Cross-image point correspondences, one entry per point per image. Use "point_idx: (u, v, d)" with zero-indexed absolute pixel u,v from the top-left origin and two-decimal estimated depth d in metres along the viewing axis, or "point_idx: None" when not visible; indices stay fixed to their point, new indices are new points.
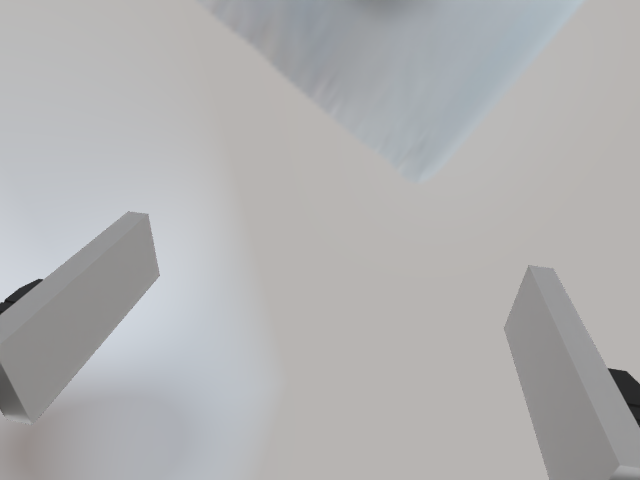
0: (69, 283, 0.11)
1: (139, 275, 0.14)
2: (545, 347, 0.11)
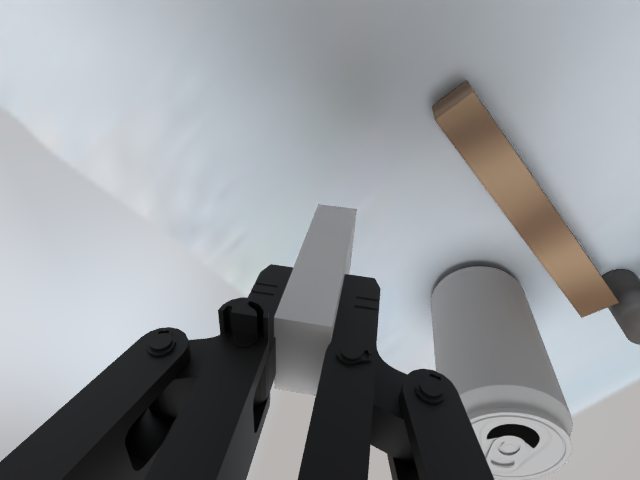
0: (319, 267, 0.12)
1: None
2: None
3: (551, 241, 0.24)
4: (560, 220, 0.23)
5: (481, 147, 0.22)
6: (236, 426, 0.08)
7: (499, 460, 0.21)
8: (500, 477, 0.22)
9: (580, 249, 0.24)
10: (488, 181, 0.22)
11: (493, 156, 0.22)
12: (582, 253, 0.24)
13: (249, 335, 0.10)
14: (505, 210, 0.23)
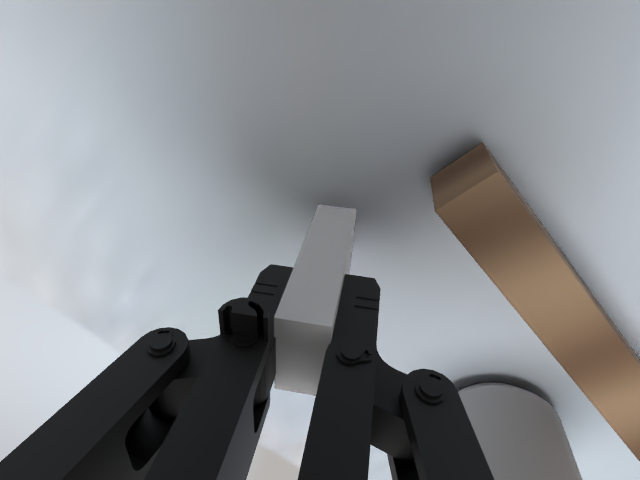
0: (319, 267, 0.12)
1: None
2: None
3: (611, 379, 0.16)
4: (628, 354, 0.15)
5: (508, 251, 0.14)
6: (236, 426, 0.08)
7: None
8: None
9: None
10: (517, 298, 0.15)
11: (526, 264, 0.14)
12: None
13: (249, 335, 0.10)
14: (543, 337, 0.15)
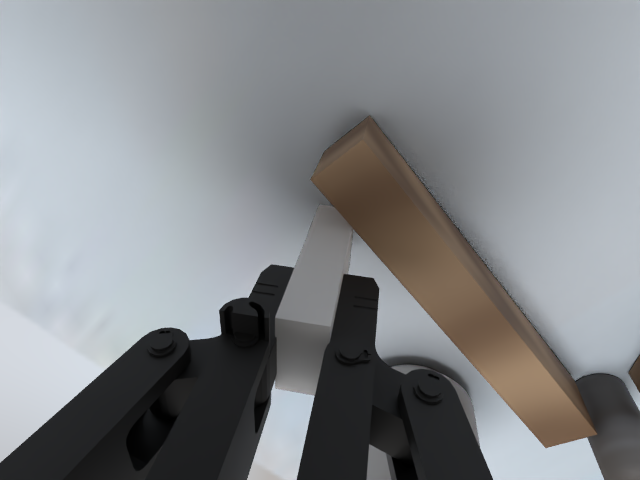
0: (320, 267, 0.12)
1: None
2: None
3: (498, 352, 0.16)
4: (509, 326, 0.15)
5: (384, 221, 0.14)
6: (237, 426, 0.08)
7: None
8: None
9: (540, 365, 0.16)
10: (399, 269, 0.15)
11: (403, 235, 0.14)
12: (543, 370, 0.16)
13: (250, 335, 0.10)
14: (428, 309, 0.15)
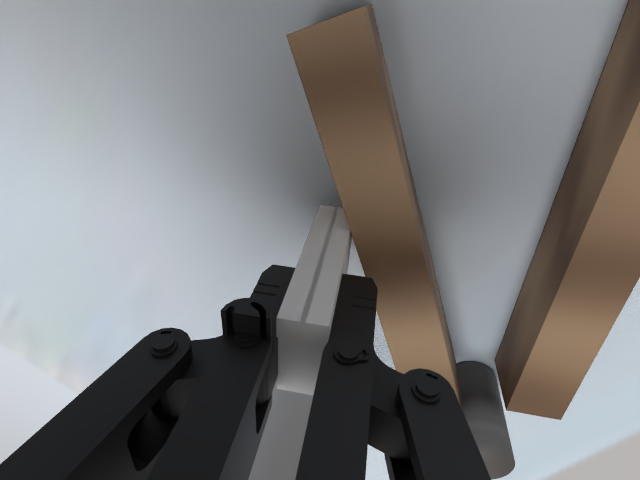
0: (321, 267, 0.12)
1: None
2: None
3: (406, 305, 0.15)
4: (427, 280, 0.15)
5: (348, 118, 0.12)
6: (238, 427, 0.08)
7: None
8: None
9: (439, 330, 0.16)
10: (344, 181, 0.13)
11: (362, 141, 0.13)
12: (440, 336, 0.16)
13: (252, 335, 0.10)
14: (356, 237, 0.14)
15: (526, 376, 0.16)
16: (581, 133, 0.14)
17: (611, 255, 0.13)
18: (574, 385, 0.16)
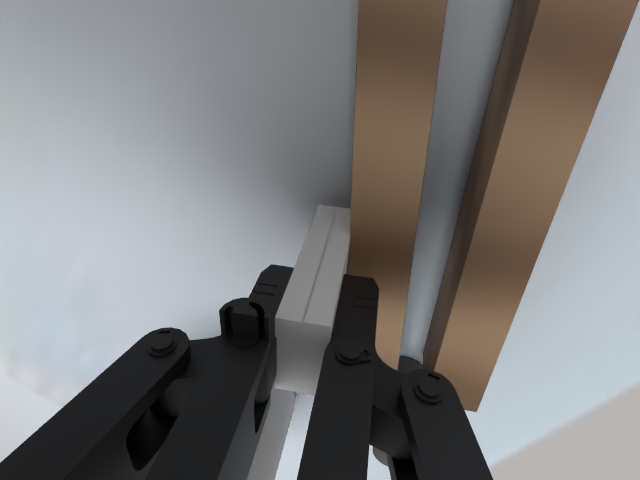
0: (320, 267, 0.12)
1: None
2: None
3: None
4: (408, 269, 0.14)
5: (393, 78, 0.11)
6: (237, 426, 0.08)
7: None
8: None
9: (402, 320, 0.16)
10: (363, 145, 0.12)
11: (397, 109, 0.12)
12: (400, 326, 0.16)
13: (250, 335, 0.10)
14: (355, 206, 0.14)
15: (439, 369, 0.17)
16: (480, 133, 0.15)
17: (503, 251, 0.14)
18: (484, 377, 0.17)
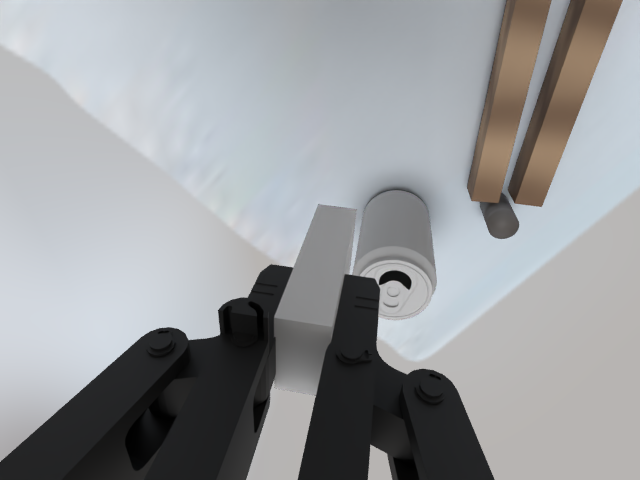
0: (319, 267, 0.12)
1: None
2: None
3: (502, 130, 0.32)
4: (519, 118, 0.31)
5: (526, 25, 0.28)
6: (236, 426, 0.08)
7: (389, 303, 0.31)
8: (392, 319, 0.32)
9: (511, 148, 0.32)
10: (508, 55, 0.29)
11: (526, 38, 0.28)
12: (510, 152, 0.33)
13: (249, 335, 0.10)
14: (499, 85, 0.30)
15: (525, 180, 0.34)
16: (552, 56, 0.31)
17: (564, 107, 0.31)
18: (548, 183, 0.34)
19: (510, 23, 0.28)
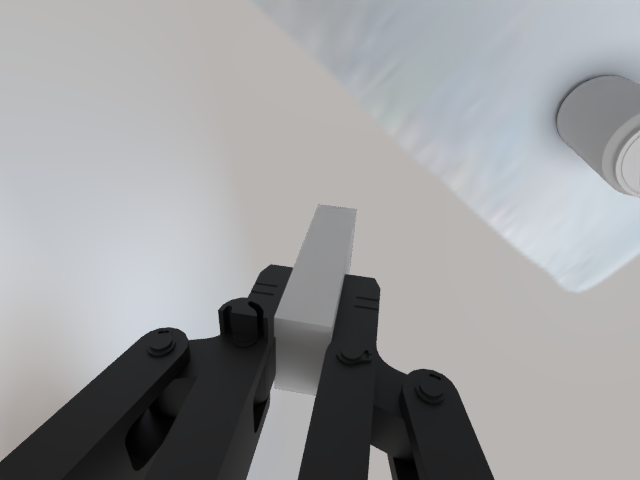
0: (319, 267, 0.12)
1: None
2: None
3: None
4: None
5: None
6: (236, 426, 0.08)
7: None
8: None
9: None
10: None
11: None
12: None
13: (249, 335, 0.10)
14: None
15: None
16: None
17: None
18: None
19: None
